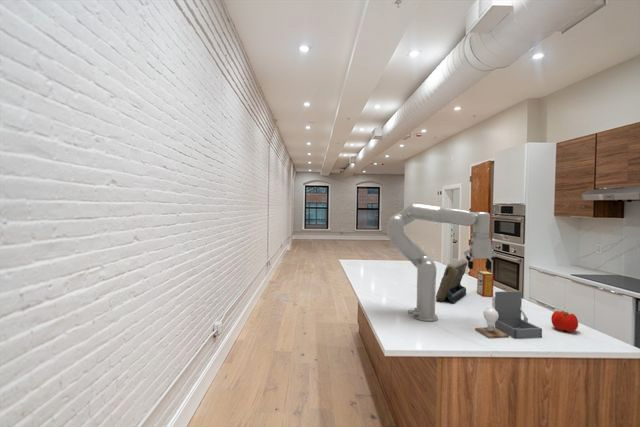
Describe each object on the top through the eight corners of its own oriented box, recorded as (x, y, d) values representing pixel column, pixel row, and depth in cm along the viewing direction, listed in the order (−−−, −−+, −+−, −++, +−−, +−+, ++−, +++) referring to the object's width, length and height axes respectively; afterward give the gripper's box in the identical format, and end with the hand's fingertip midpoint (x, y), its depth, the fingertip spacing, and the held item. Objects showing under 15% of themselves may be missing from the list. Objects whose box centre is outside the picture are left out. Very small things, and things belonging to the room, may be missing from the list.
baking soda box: (477, 293, 222) (477, 270, 222) (486, 293, 222) (487, 270, 222) (483, 296, 213) (483, 273, 213) (492, 297, 212) (493, 273, 212)
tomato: (545, 325, 160) (546, 309, 160) (567, 326, 160) (568, 309, 160) (561, 334, 150) (561, 316, 150) (584, 334, 149) (585, 316, 149)
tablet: (446, 291, 227) (447, 256, 226) (467, 294, 219) (468, 258, 219) (434, 301, 200) (435, 262, 199) (458, 305, 192) (459, 265, 192)
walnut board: (488, 338, 143) (488, 336, 143) (474, 329, 153) (474, 327, 153) (508, 337, 145) (508, 335, 145) (493, 329, 154) (493, 327, 154)
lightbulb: (497, 335, 144) (498, 311, 144) (482, 332, 148) (482, 308, 148) (498, 330, 150) (499, 307, 150) (483, 327, 153) (484, 305, 153)
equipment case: (514, 338, 143) (515, 299, 143) (494, 327, 157) (495, 291, 157) (542, 337, 145) (543, 298, 145) (519, 326, 159) (520, 290, 159)
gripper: (469, 236, 157) (467, 270, 158) (501, 237, 159) (499, 270, 159) (461, 234, 165) (459, 267, 165) (492, 235, 166) (490, 267, 167)
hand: (479, 268), depth 162 cm, fingers open, 9 cm apart
